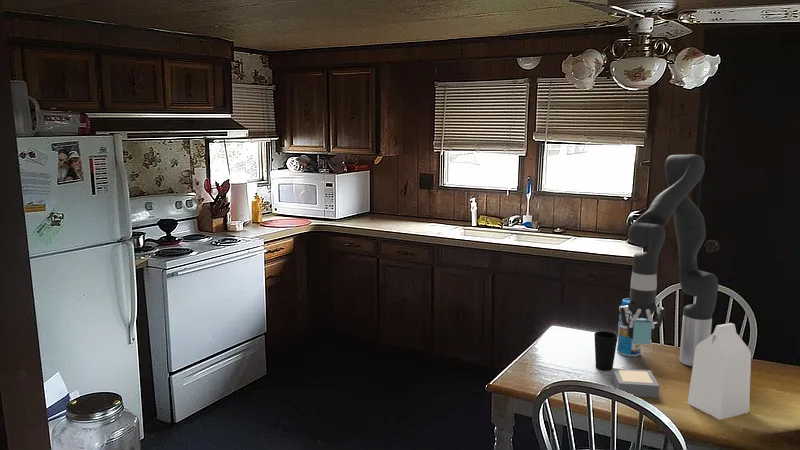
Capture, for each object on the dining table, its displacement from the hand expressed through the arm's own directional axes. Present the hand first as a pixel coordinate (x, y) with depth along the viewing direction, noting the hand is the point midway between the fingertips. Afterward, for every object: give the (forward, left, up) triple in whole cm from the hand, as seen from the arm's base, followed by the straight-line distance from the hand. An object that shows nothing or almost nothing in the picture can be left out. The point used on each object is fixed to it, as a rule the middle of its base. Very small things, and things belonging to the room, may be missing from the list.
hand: (640, 338), depth 199 cm
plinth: (+1, 0, -17) cm, 17 cm away
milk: (-21, +10, -17) cm, 29 cm away
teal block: (0, 0, -1) cm, 1 cm away
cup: (+8, -16, -17) cm, 25 cm away
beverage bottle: (-3, -32, -17) cm, 37 cm away
